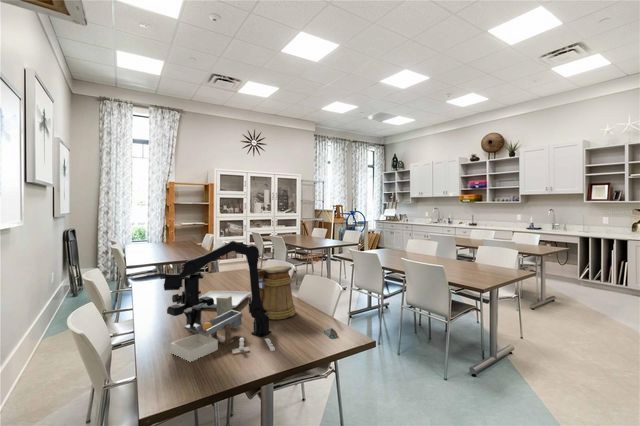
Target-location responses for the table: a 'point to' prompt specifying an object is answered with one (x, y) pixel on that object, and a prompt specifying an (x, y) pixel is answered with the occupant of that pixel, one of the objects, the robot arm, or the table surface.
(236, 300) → the square plate
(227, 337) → the pivot stand
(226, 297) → the skincare box
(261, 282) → the walkman
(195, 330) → the tipping lever
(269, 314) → the tankard
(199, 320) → the supplement container
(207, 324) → the ball
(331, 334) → the game pieces
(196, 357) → the white open tray
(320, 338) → the table surface
